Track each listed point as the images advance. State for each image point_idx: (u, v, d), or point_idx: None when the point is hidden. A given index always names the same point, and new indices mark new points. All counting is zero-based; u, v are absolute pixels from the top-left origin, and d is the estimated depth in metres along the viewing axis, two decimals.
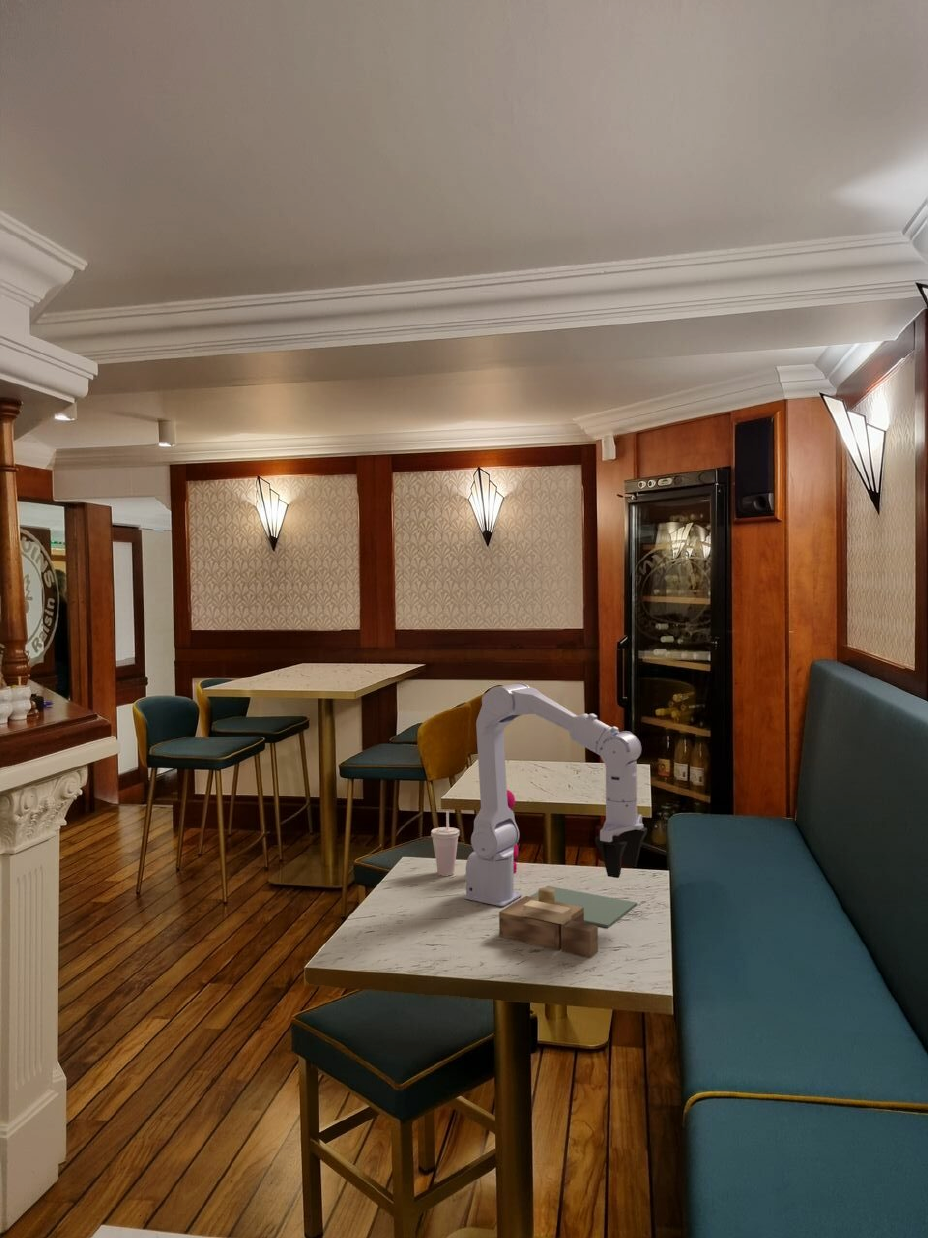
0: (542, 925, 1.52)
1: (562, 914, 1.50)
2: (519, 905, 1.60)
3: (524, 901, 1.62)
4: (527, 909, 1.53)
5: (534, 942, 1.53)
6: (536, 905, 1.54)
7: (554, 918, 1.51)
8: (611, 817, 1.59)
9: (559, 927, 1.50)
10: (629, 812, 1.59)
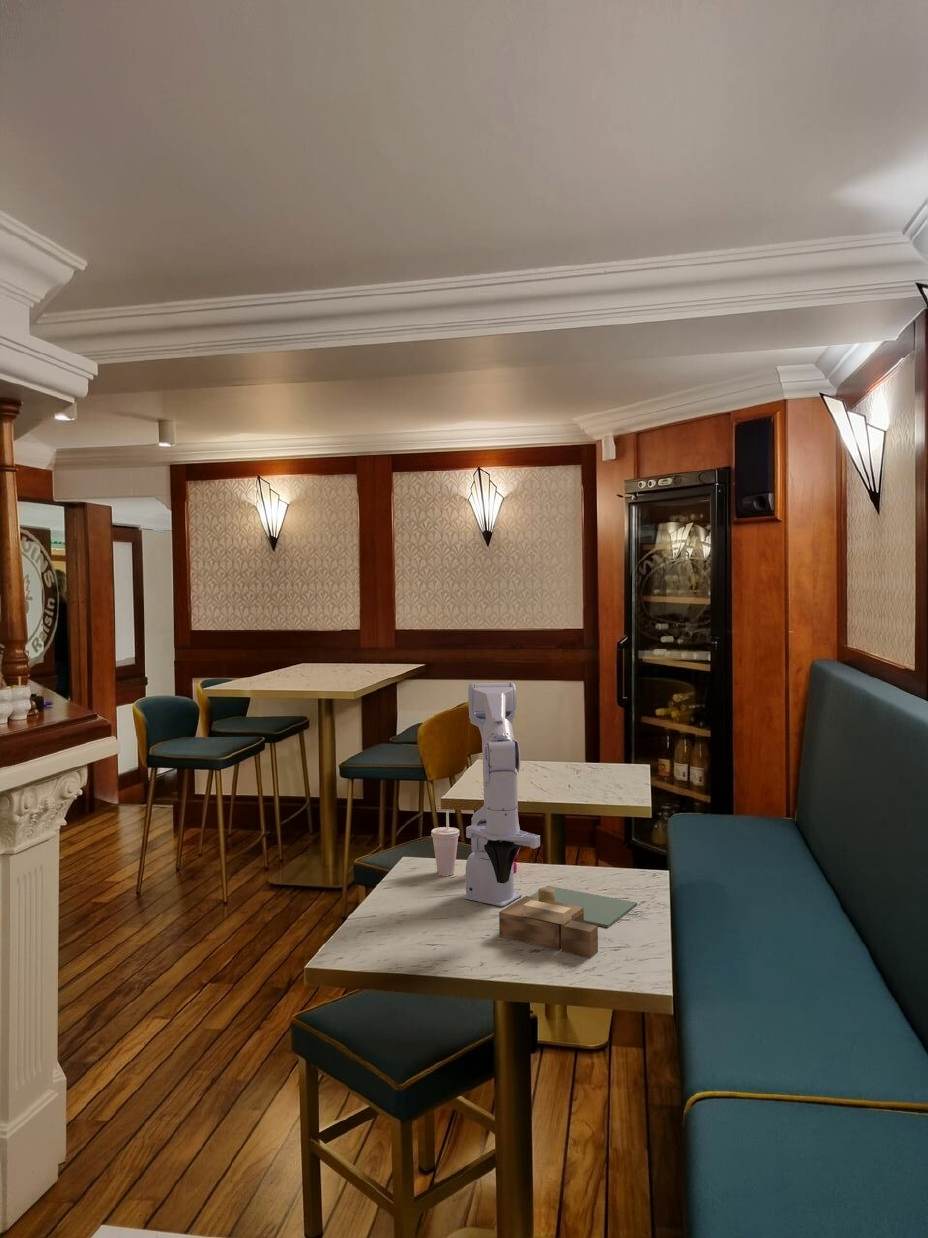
0: (542, 925, 1.52)
1: (562, 914, 1.50)
2: (519, 905, 1.60)
3: (524, 901, 1.62)
4: (527, 909, 1.53)
5: (534, 942, 1.53)
6: (536, 905, 1.54)
7: (554, 918, 1.51)
8: None
9: (559, 927, 1.50)
10: (487, 820, 1.57)
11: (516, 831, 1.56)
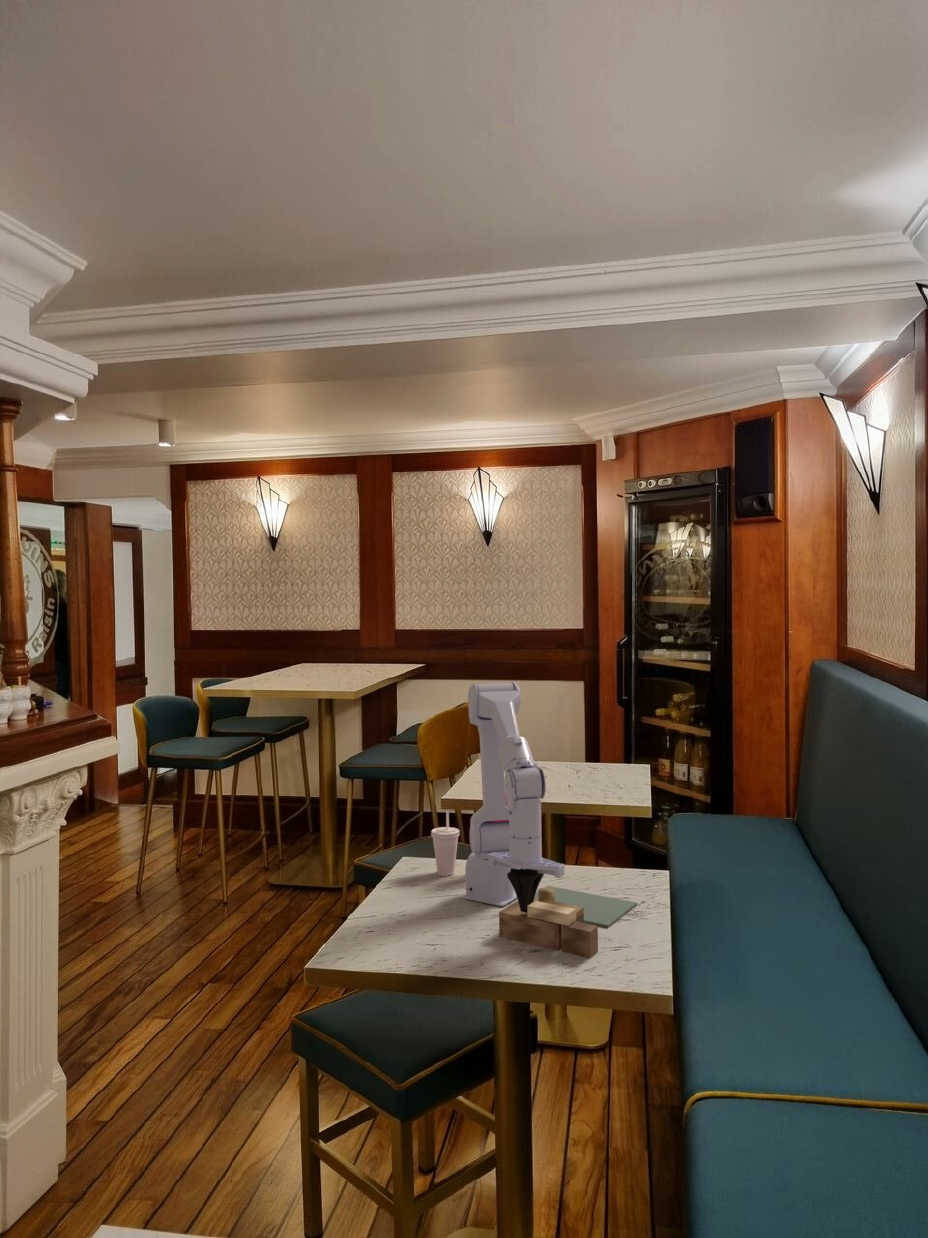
0: (542, 925, 1.52)
1: (567, 915, 1.49)
2: None
3: None
4: (532, 910, 1.53)
5: (534, 942, 1.53)
6: (540, 906, 1.53)
7: (559, 918, 1.50)
8: None
9: (559, 927, 1.50)
10: (510, 848, 1.54)
11: (540, 859, 1.54)
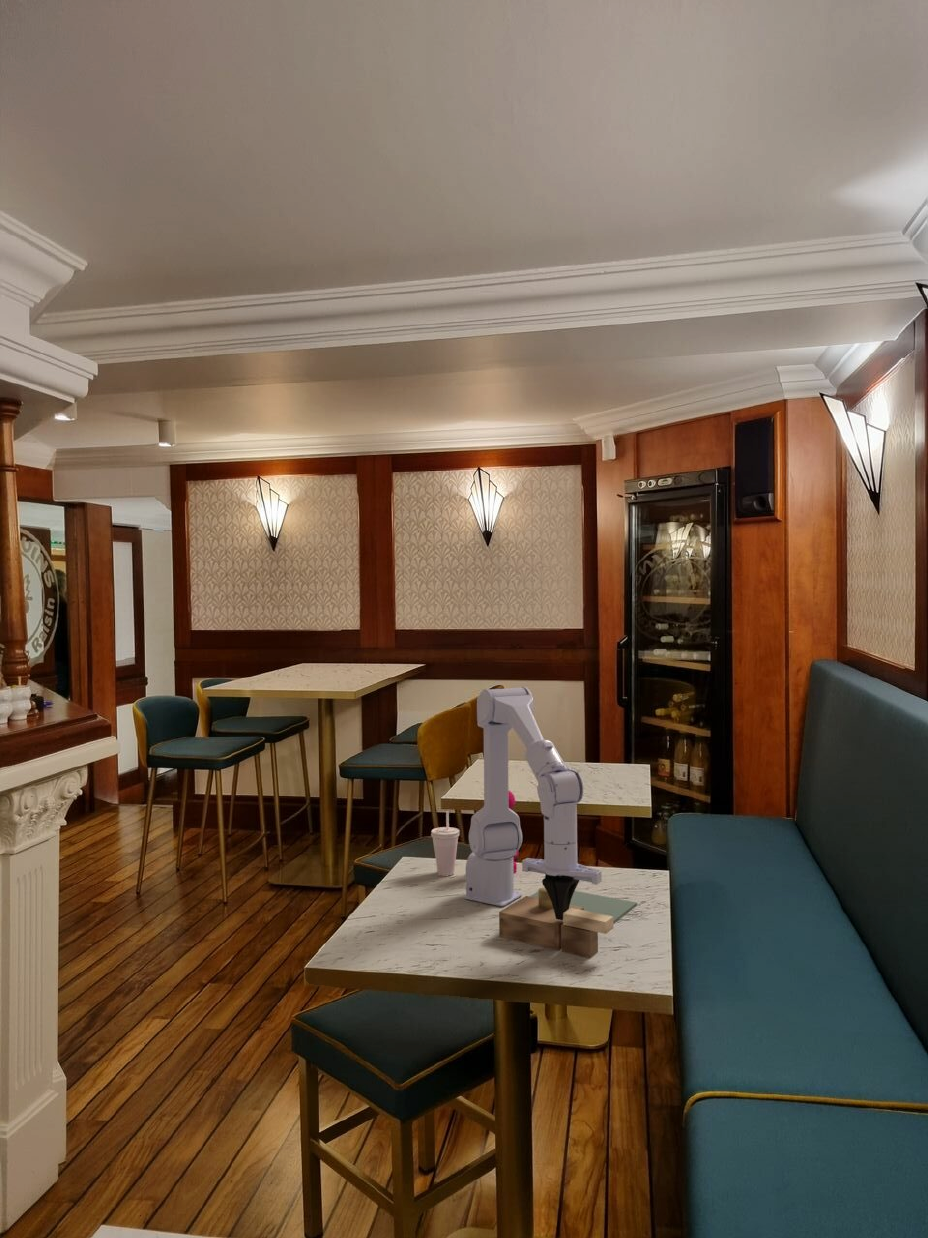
0: (542, 925, 1.52)
1: (604, 923, 1.45)
2: (519, 905, 1.60)
3: (524, 901, 1.62)
4: (568, 918, 1.49)
5: (534, 942, 1.53)
6: (576, 913, 1.49)
7: (596, 926, 1.46)
8: None
9: (559, 927, 1.50)
10: (546, 853, 1.50)
11: (576, 865, 1.50)
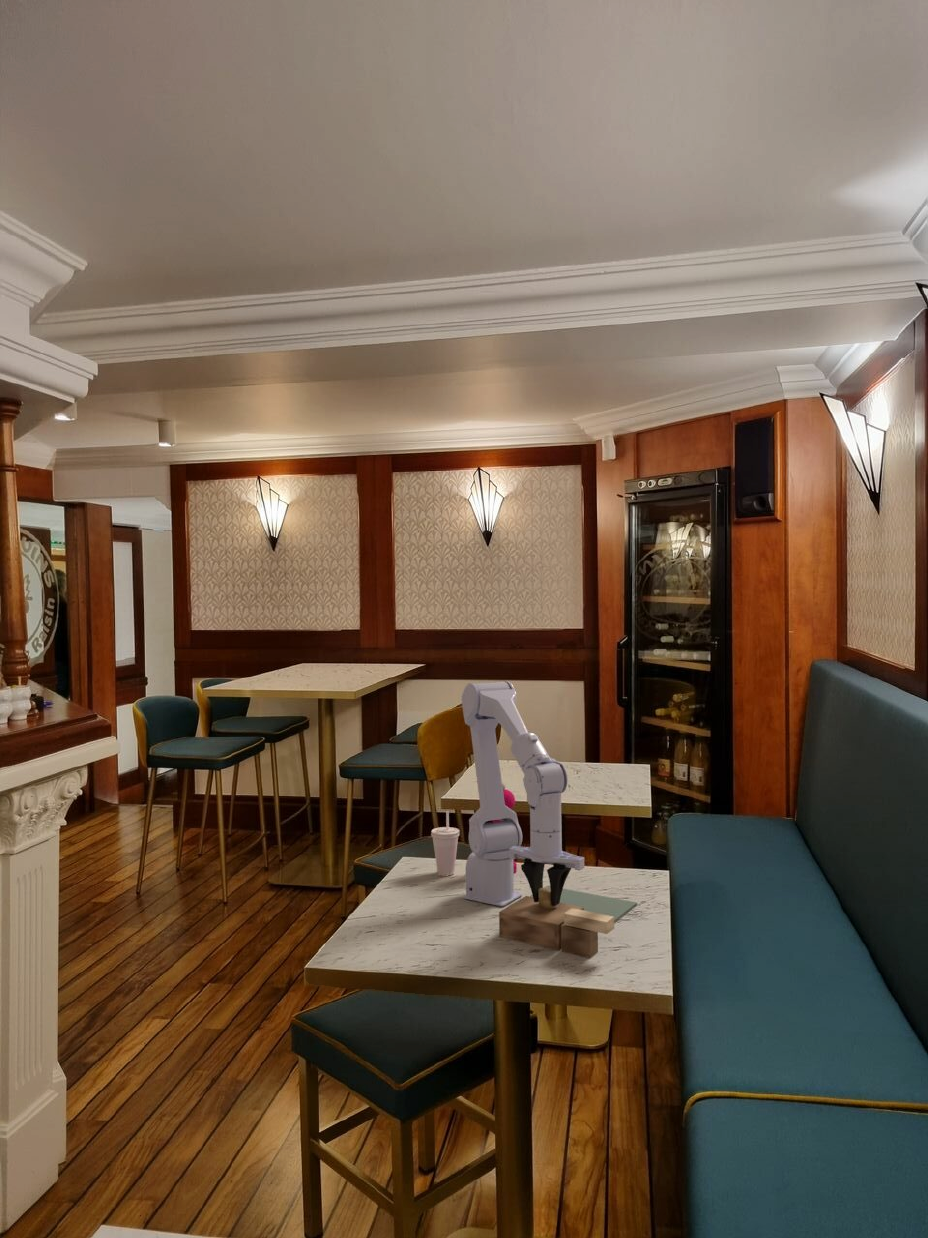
0: (542, 925, 1.52)
1: (605, 923, 1.45)
2: (519, 905, 1.60)
3: (524, 901, 1.62)
4: (569, 918, 1.49)
5: (534, 942, 1.53)
6: (577, 913, 1.49)
7: (597, 927, 1.46)
8: None
9: (559, 927, 1.50)
10: (531, 841, 1.58)
11: (560, 853, 1.58)
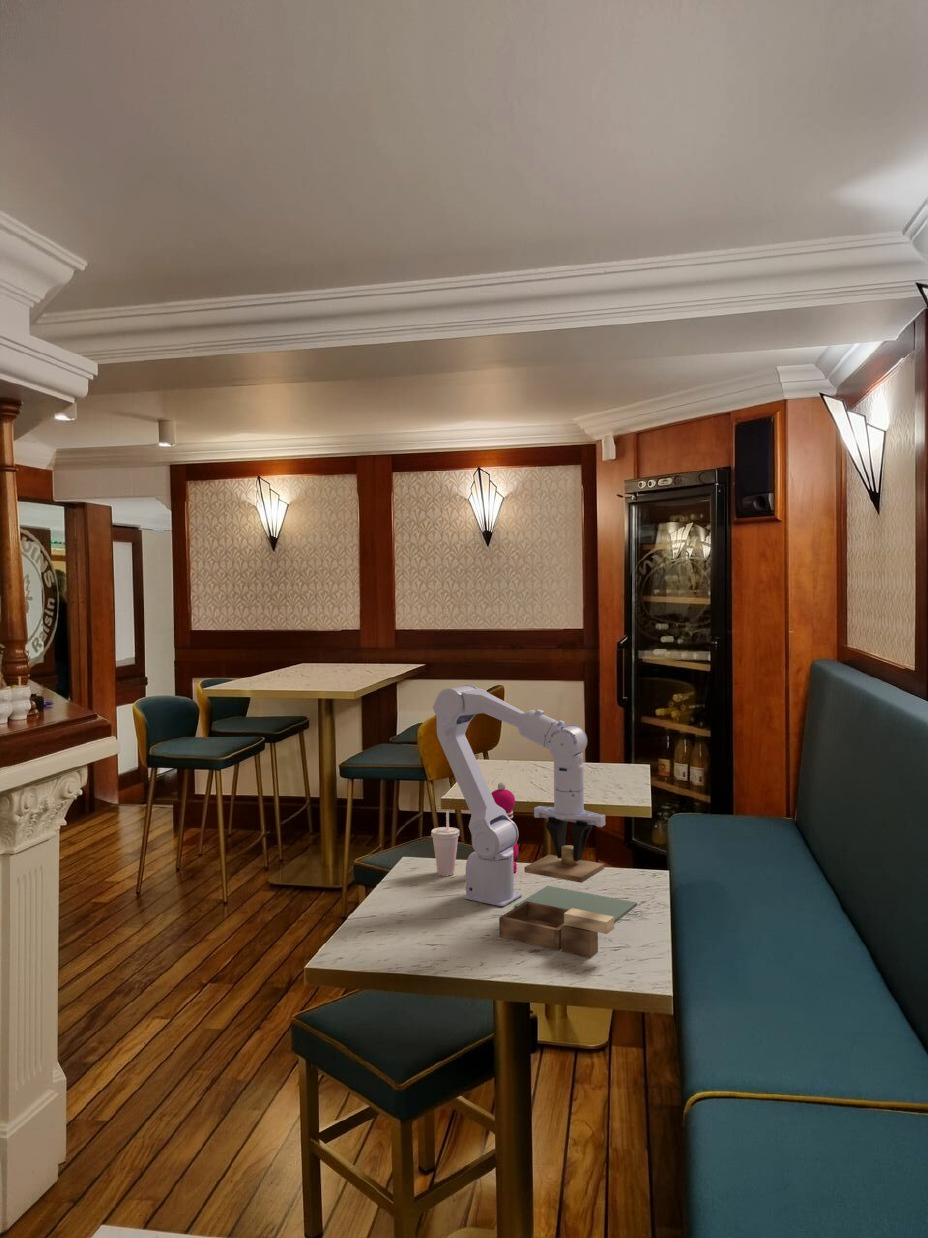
0: (565, 878, 1.61)
1: (605, 923, 1.45)
2: (543, 862, 1.69)
3: (547, 858, 1.72)
4: (569, 918, 1.49)
5: (534, 942, 1.53)
6: (577, 913, 1.49)
7: (597, 927, 1.46)
8: None
9: (582, 880, 1.60)
10: (555, 800, 1.68)
11: (582, 811, 1.67)
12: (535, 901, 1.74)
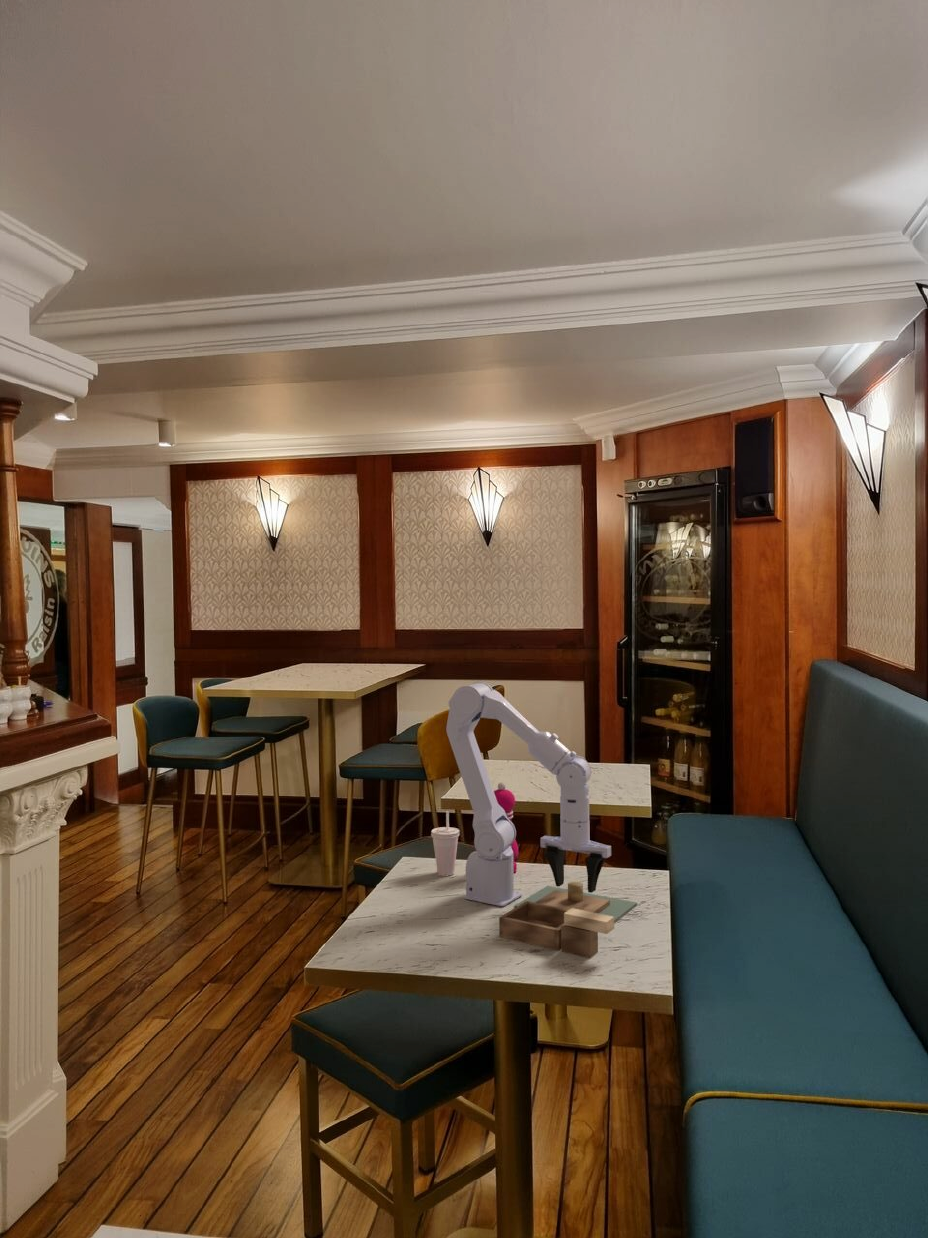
0: None
1: (605, 923, 1.45)
2: (550, 899, 1.72)
3: (554, 894, 1.74)
4: (569, 918, 1.49)
5: (534, 942, 1.53)
6: (577, 913, 1.49)
7: (597, 927, 1.46)
8: None
9: None
10: (562, 831, 1.70)
11: (588, 842, 1.70)
12: (535, 901, 1.74)
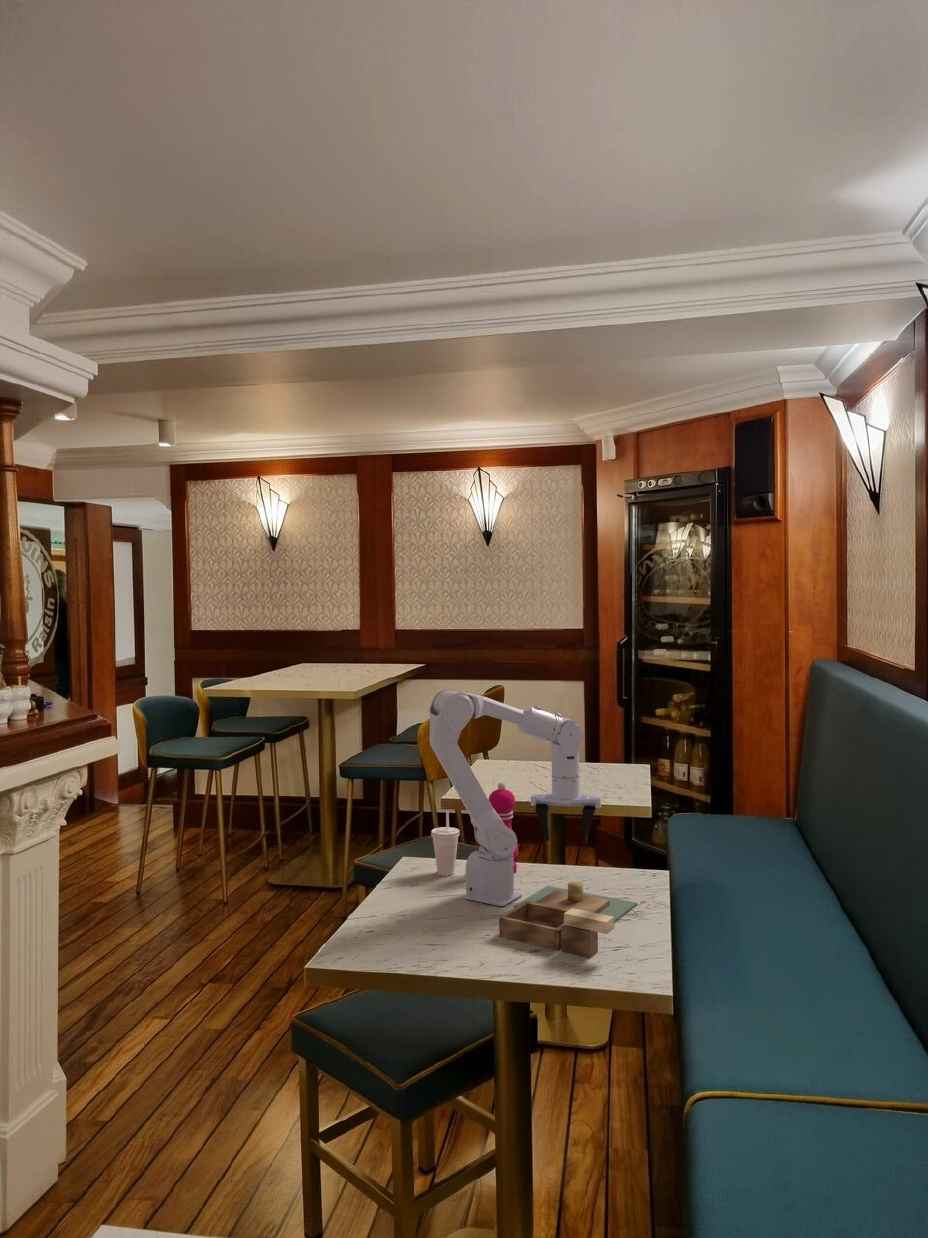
0: None
1: (605, 923, 1.45)
2: (550, 899, 1.72)
3: (554, 894, 1.74)
4: (569, 918, 1.49)
5: (534, 942, 1.53)
6: (577, 913, 1.49)
7: (597, 927, 1.46)
8: None
9: None
10: (556, 787, 1.79)
11: (579, 795, 1.81)
12: (535, 901, 1.74)
